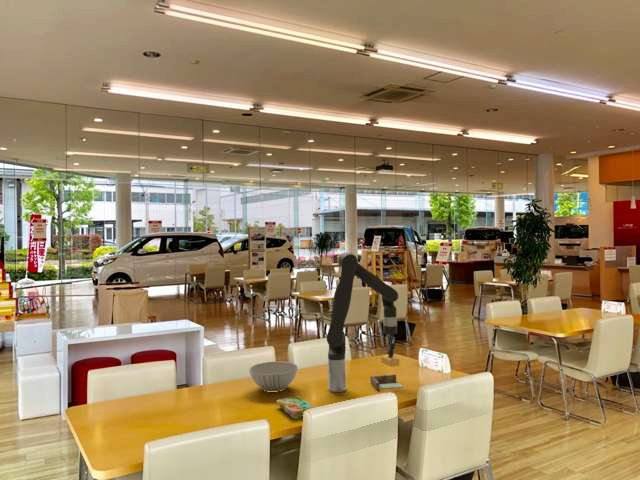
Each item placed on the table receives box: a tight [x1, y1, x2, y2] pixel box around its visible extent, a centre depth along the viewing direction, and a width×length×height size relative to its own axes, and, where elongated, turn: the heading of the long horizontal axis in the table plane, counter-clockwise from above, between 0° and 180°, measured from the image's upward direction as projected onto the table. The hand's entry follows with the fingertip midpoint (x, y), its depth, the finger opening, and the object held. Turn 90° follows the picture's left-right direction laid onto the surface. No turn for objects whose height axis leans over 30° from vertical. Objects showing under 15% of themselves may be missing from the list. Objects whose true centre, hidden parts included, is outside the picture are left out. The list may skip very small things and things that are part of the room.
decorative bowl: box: [249, 360, 299, 392], centre depth 279 cm, size 27×27×12 cm
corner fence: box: [370, 373, 397, 391], centre depth 280 cm, size 15×14×4 cm
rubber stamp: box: [380, 343, 400, 368], centre depth 281 cm, size 10×6×12 cm, turn 26°
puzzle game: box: [276, 395, 315, 419], centre depth 244 cm, size 12×5×20 cm
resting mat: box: [379, 382, 404, 390], centre depth 280 cm, size 12×8×1 cm, turn 98°
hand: (390, 355), depth 281 cm, fingers closed on rubber stamp, 3 cm apart
